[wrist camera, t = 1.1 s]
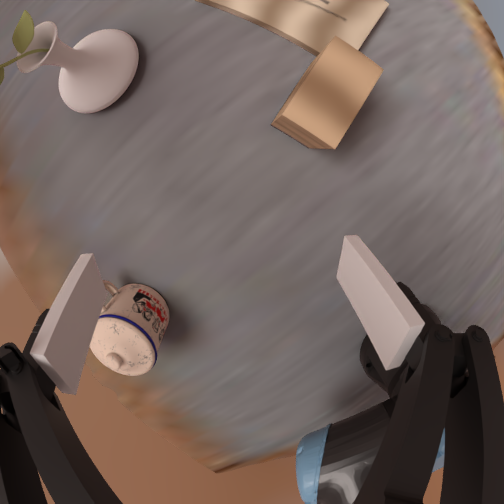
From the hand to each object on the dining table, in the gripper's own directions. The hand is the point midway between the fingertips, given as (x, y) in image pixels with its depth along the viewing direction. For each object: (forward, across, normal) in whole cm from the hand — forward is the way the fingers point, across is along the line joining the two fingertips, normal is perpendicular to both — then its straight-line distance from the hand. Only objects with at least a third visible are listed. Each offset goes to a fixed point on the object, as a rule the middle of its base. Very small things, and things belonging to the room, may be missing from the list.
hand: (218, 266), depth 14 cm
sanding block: (+20, -11, -7) cm, 24 cm away
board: (+23, -10, -22) cm, 34 cm away
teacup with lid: (+18, +12, +17) cm, 28 cm away
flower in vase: (+24, +14, -13) cm, 31 cm away
